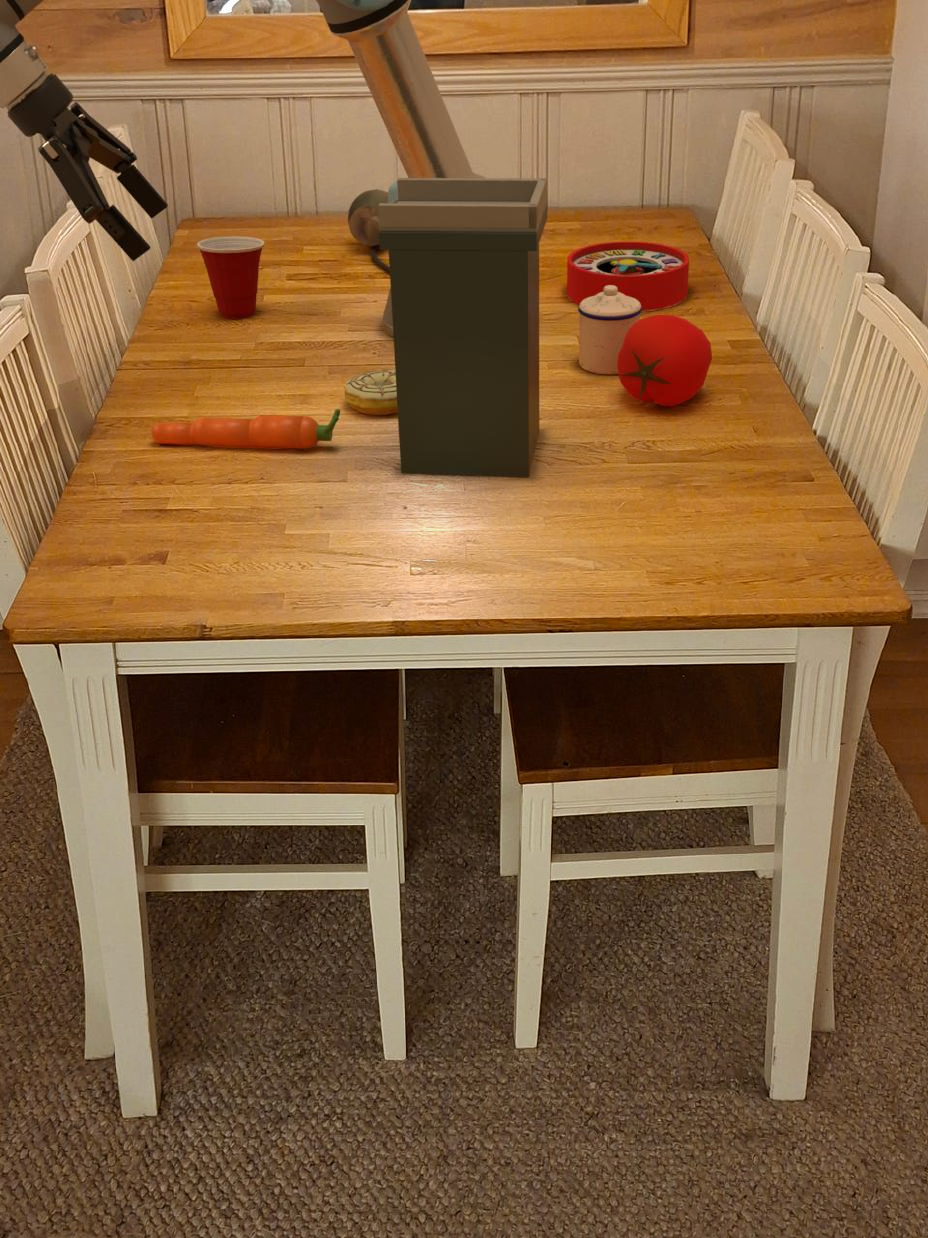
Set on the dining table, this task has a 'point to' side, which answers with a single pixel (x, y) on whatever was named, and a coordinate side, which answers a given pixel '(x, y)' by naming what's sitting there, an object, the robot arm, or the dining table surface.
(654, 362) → the tomato
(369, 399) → the decorated donut
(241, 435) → the carrot
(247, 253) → the plastic cup
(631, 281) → the toy clock
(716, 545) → the dining table surface
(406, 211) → the stand
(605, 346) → the teacup with lid
